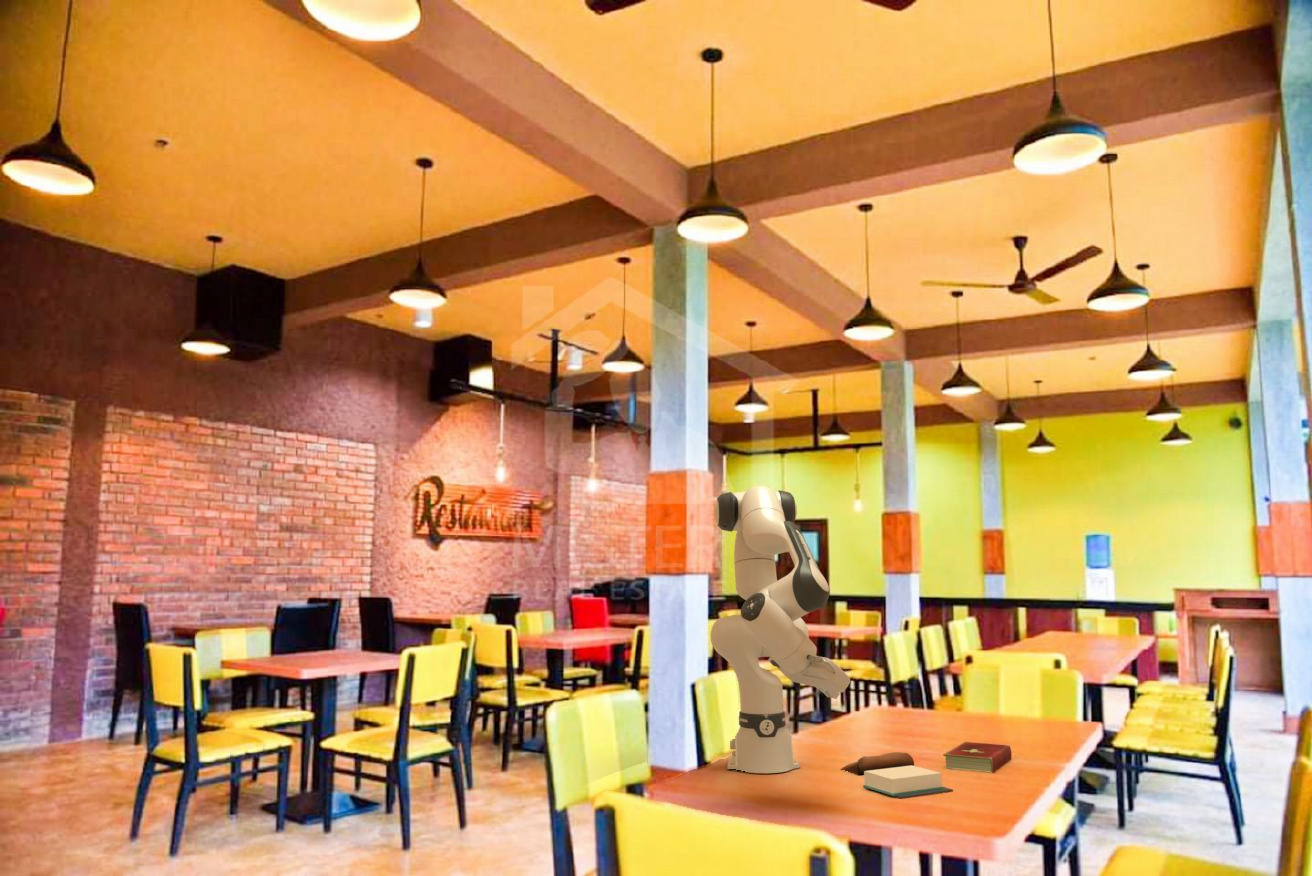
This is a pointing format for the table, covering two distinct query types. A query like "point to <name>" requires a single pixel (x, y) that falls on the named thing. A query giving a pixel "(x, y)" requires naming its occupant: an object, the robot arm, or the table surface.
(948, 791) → the mat
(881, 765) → the sweet potato
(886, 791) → the cream rectangular block
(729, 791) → the table surface
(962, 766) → the hardcover book
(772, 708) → the robot arm
